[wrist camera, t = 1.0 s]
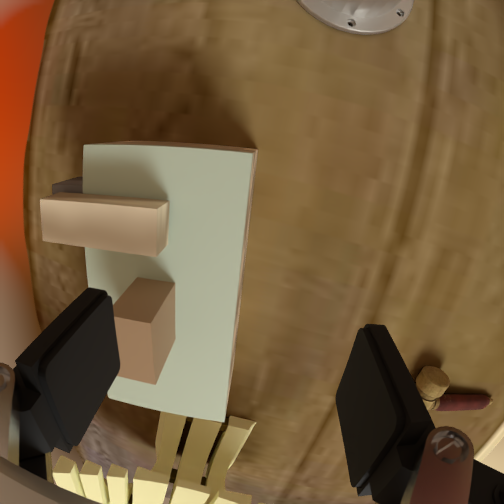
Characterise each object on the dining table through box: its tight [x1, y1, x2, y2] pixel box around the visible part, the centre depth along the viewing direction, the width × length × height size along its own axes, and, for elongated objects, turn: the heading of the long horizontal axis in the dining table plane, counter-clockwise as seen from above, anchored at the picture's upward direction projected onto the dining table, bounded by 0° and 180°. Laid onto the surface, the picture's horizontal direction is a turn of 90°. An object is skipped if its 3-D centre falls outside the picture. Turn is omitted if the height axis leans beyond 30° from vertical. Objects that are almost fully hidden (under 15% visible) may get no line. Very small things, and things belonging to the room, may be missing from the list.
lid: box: [83, 144, 253, 422], centre depth 22 cm, size 24×12×7 cm, turn 174°
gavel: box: [415, 366, 493, 411], centre depth 36 cm, size 21×5×10 cm
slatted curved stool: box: [53, 411, 265, 504], centre depth 34 cm, size 30×16×18 cm, turn 73°
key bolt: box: [40, 192, 170, 257], centre depth 20 cm, size 3×9×2 cm, turn 83°
